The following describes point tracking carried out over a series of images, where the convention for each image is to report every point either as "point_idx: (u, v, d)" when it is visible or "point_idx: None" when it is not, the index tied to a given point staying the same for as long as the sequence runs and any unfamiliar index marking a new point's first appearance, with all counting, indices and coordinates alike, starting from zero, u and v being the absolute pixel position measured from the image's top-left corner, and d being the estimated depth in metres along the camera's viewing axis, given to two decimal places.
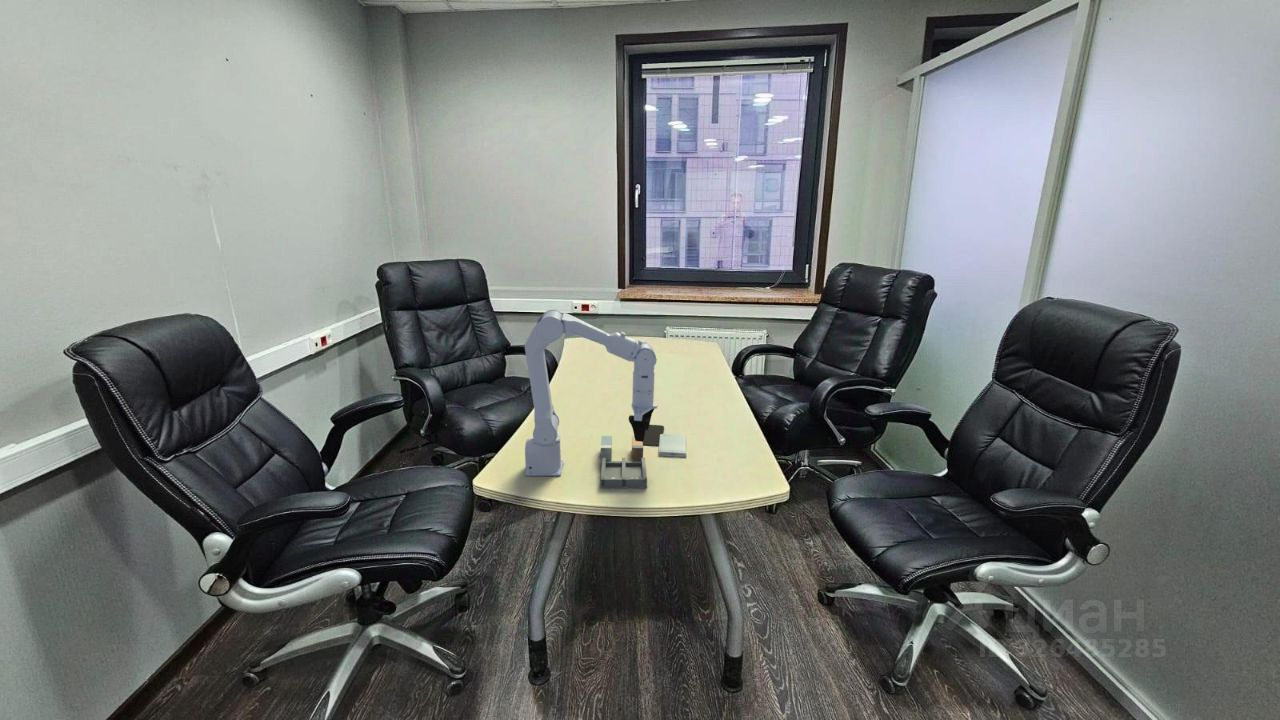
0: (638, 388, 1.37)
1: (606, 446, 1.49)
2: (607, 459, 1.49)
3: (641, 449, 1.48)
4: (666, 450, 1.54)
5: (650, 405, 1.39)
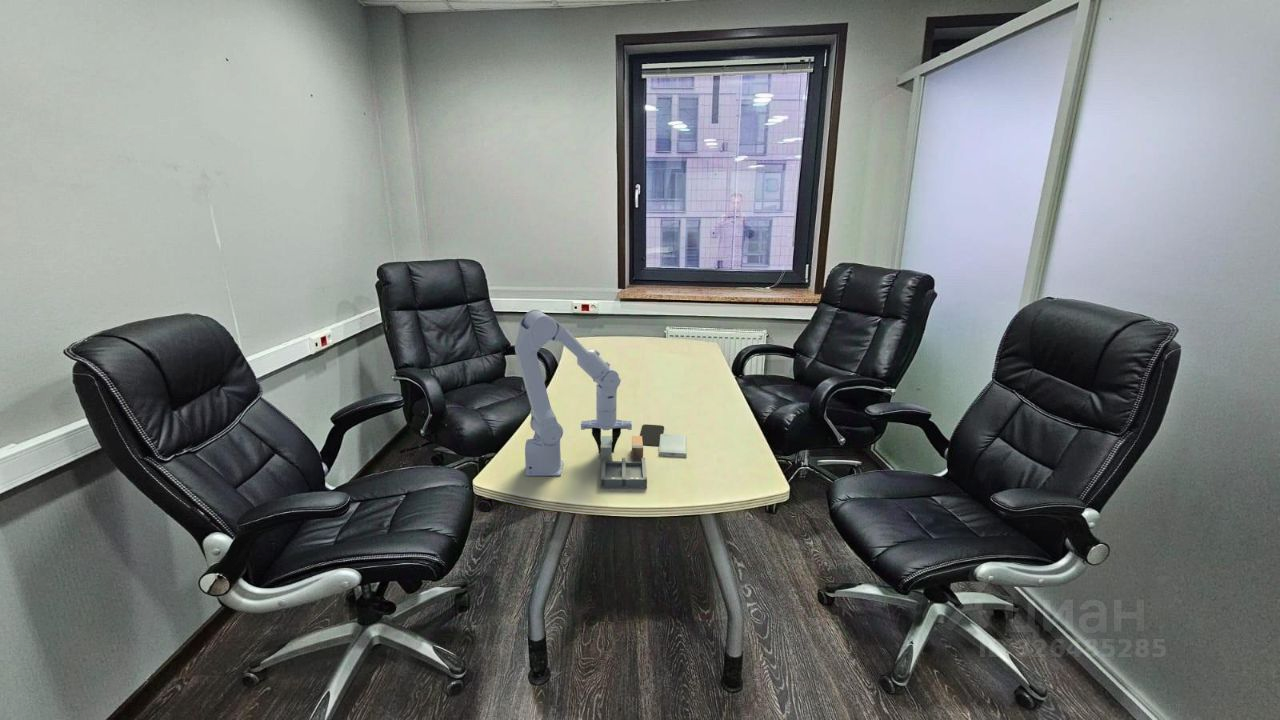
0: (605, 408, 1.46)
1: (606, 445, 1.49)
2: (607, 459, 1.49)
3: (641, 449, 1.48)
4: (666, 450, 1.54)
5: (600, 424, 1.47)
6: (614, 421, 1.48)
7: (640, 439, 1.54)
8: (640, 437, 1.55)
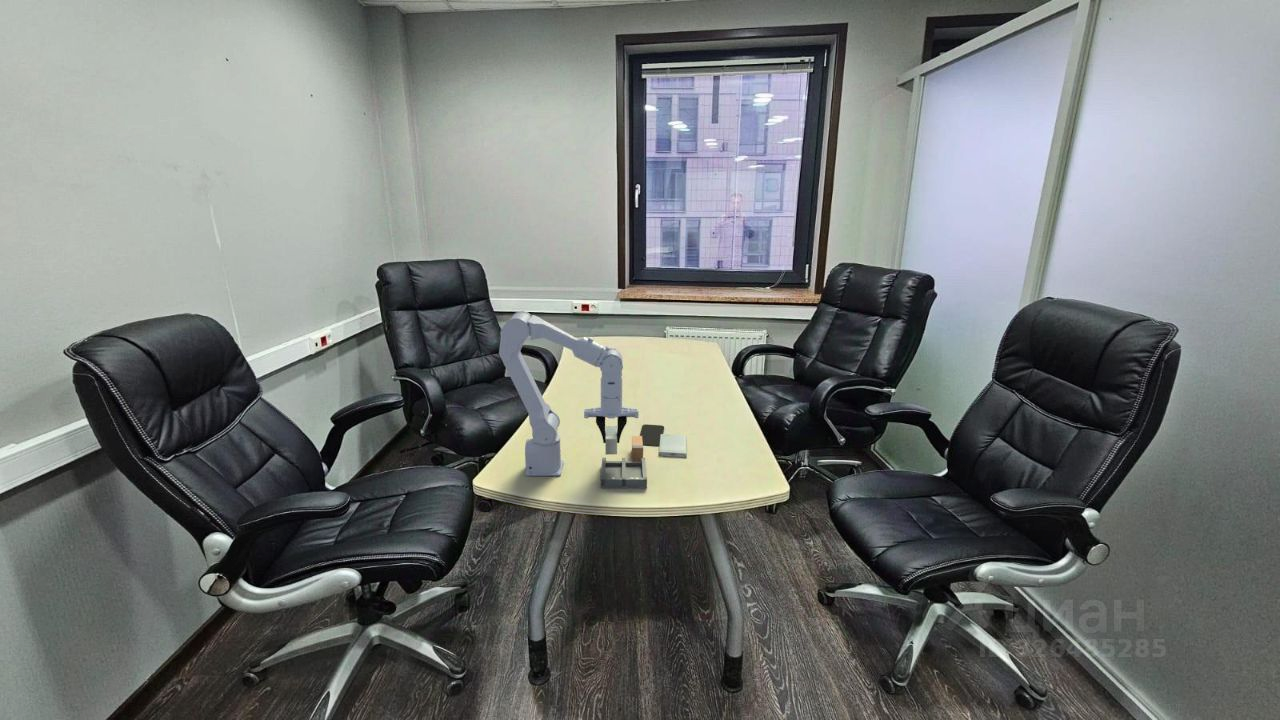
0: (605, 394, 1.36)
1: (611, 437, 1.40)
2: (612, 451, 1.40)
3: (641, 449, 1.48)
4: (666, 450, 1.54)
5: (605, 412, 1.38)
6: (620, 409, 1.39)
7: (640, 439, 1.54)
8: (640, 437, 1.55)
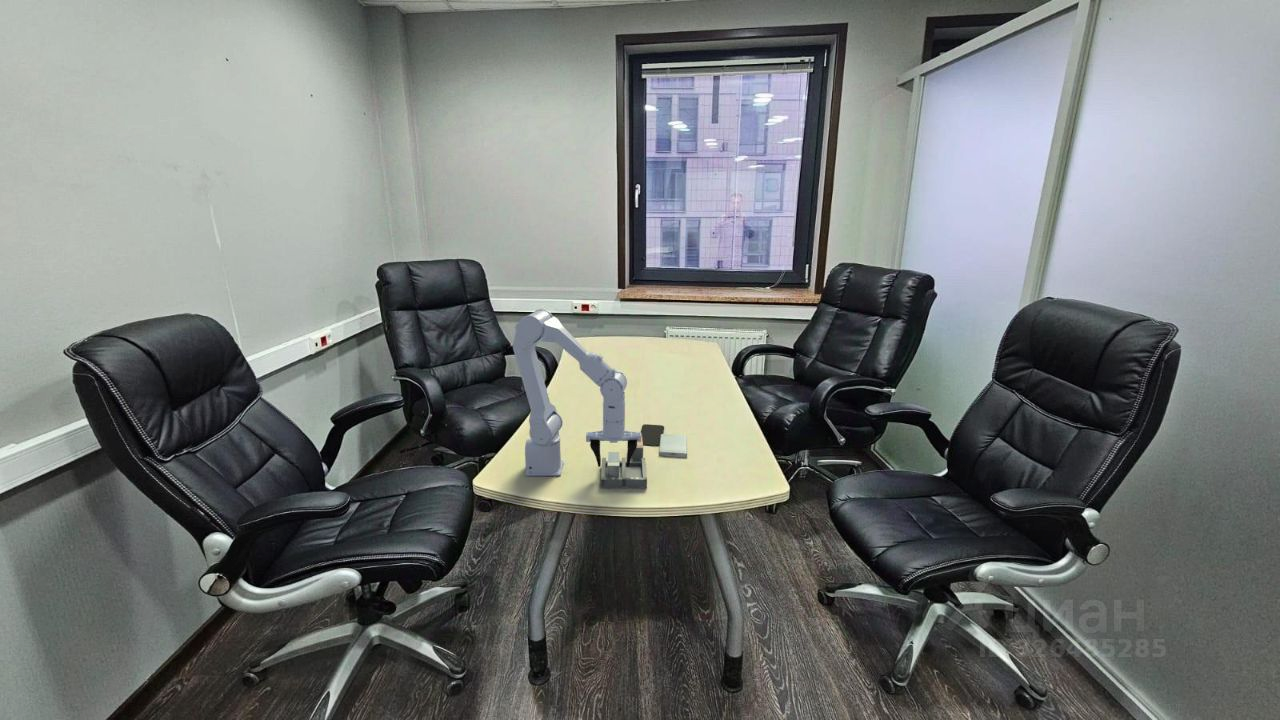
0: (606, 418, 1.34)
1: (614, 463, 1.38)
2: None
3: (641, 449, 1.48)
4: (667, 450, 1.54)
5: (607, 436, 1.35)
6: (622, 433, 1.36)
7: None
8: None
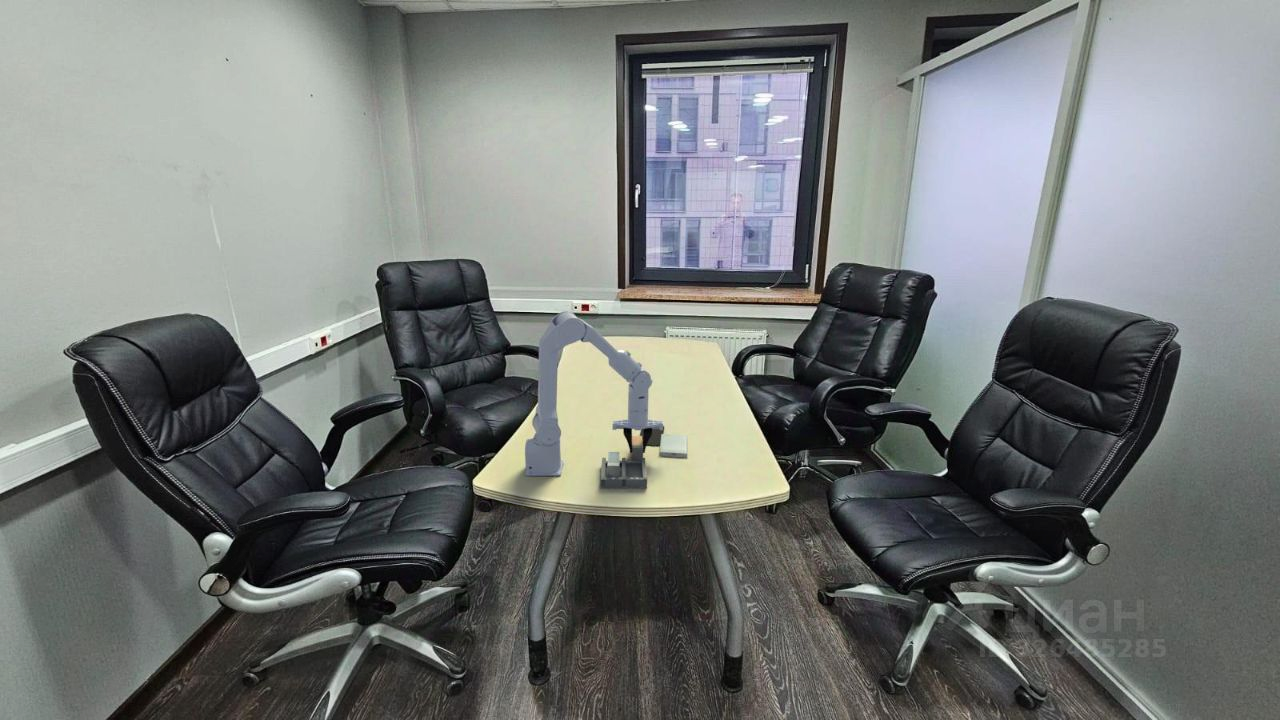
0: (635, 408, 1.46)
1: (614, 463, 1.38)
2: None
3: (641, 449, 1.48)
4: (667, 450, 1.54)
5: (632, 424, 1.48)
6: (646, 421, 1.48)
7: (640, 439, 1.54)
8: (640, 437, 1.55)
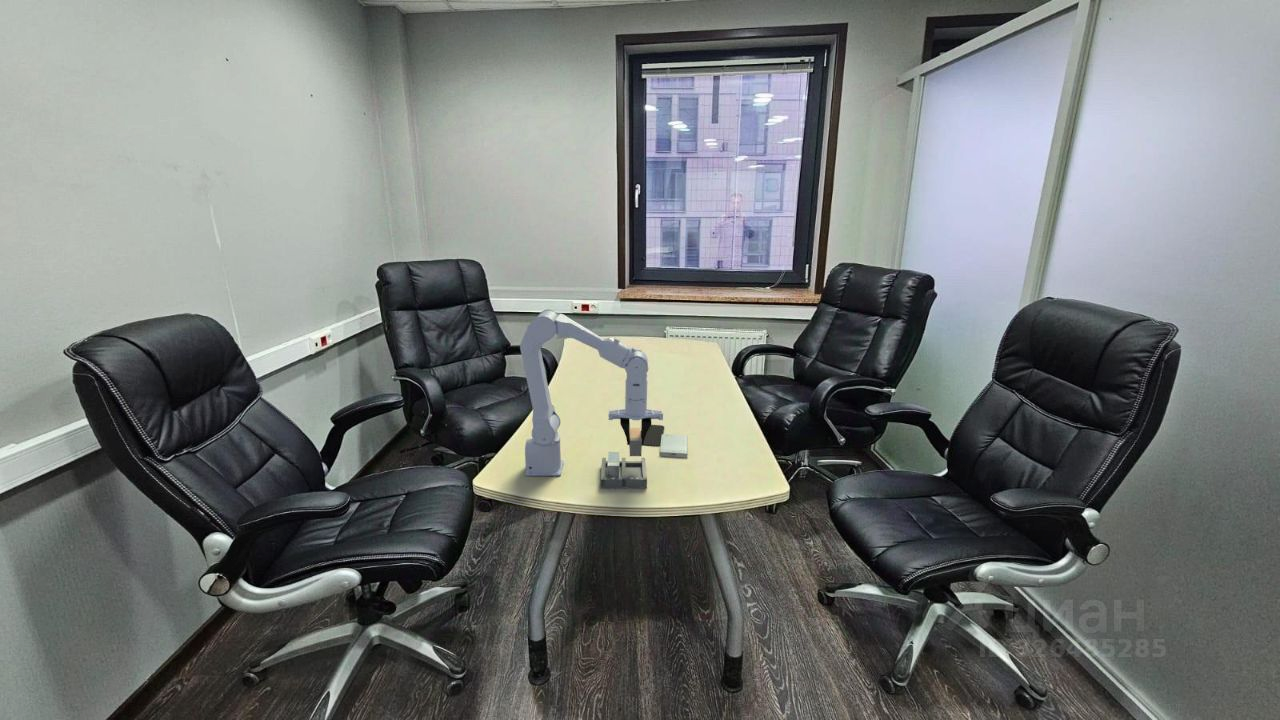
0: (630, 396, 1.36)
1: (614, 463, 1.38)
2: None
3: (639, 442, 1.38)
4: (667, 450, 1.54)
5: (630, 414, 1.37)
6: (644, 411, 1.38)
7: (638, 431, 1.43)
8: (638, 429, 1.45)
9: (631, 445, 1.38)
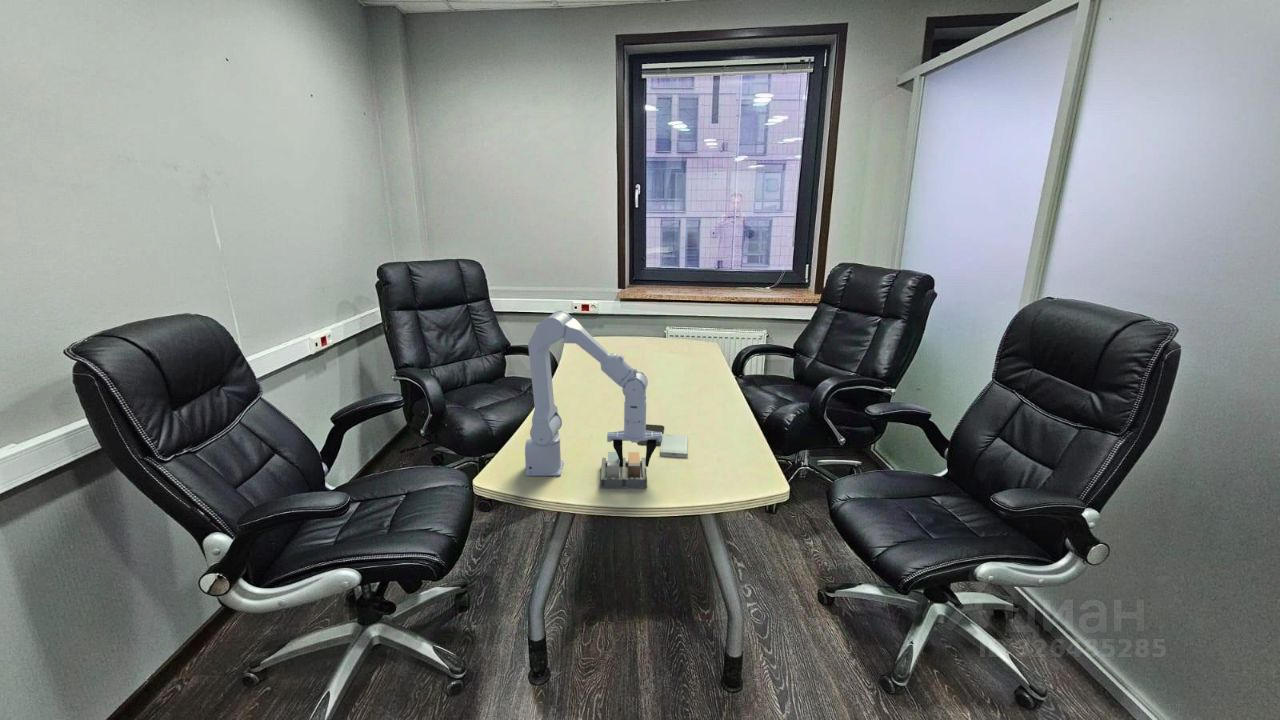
0: (627, 418, 1.34)
1: (613, 463, 1.38)
2: None
3: (638, 467, 1.37)
4: (667, 450, 1.54)
5: (628, 436, 1.36)
6: (643, 432, 1.36)
7: (637, 456, 1.42)
8: (637, 453, 1.44)
9: (630, 470, 1.37)
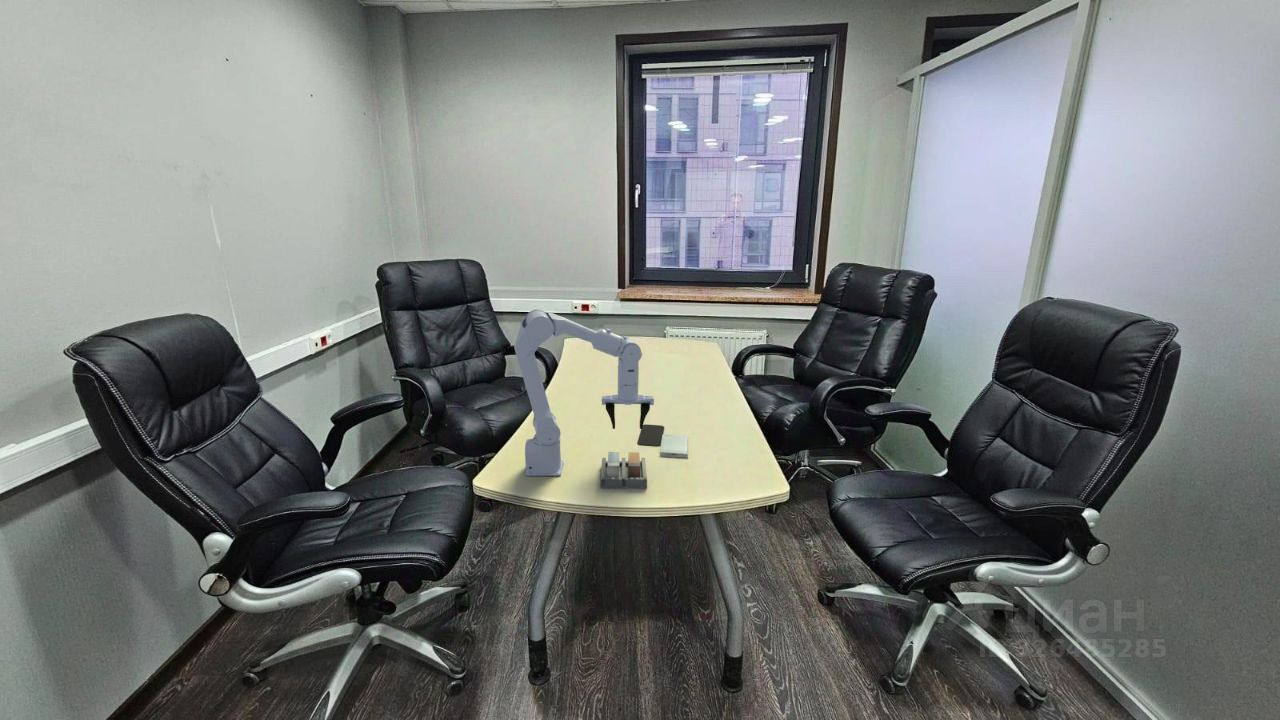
0: (625, 382, 1.42)
1: (614, 463, 1.38)
2: None
3: (638, 467, 1.37)
4: (668, 450, 1.54)
5: (622, 399, 1.43)
6: (636, 396, 1.44)
7: (637, 456, 1.42)
8: (637, 453, 1.44)
9: (630, 470, 1.37)
